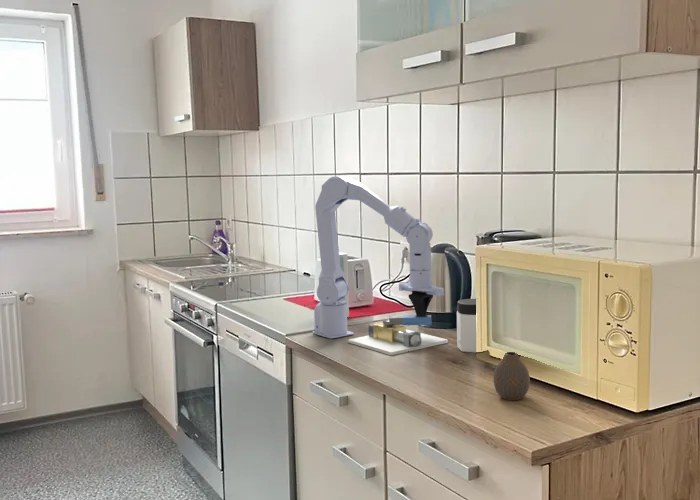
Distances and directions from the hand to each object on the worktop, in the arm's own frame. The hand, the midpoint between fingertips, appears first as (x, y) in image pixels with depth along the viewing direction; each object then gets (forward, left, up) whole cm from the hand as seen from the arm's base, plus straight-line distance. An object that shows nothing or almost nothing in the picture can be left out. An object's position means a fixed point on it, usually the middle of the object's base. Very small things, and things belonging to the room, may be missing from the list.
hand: (421, 319), depth 185 cm
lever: (0, -5, -1) cm, 5 cm away
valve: (-1, -8, -4) cm, 9 cm away
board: (-1, -7, -5) cm, 9 cm away
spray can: (-39, +1, -5) cm, 40 cm away
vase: (+48, -19, -5) cm, 52 cm away
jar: (+17, +3, -5) cm, 18 cm away
